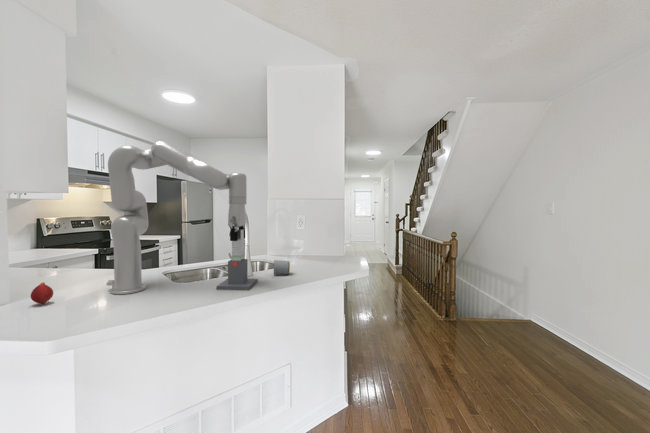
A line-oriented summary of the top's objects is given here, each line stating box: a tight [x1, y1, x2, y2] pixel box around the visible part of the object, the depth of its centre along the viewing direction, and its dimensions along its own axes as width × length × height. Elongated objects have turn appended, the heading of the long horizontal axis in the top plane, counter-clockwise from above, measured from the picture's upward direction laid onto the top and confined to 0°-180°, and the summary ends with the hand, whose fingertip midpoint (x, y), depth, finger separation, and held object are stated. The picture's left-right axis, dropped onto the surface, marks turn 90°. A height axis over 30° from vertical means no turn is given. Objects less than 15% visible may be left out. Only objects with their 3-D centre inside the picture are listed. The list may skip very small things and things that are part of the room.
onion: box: [30, 281, 54, 305], centre depth 106 cm, size 6×6×8 cm
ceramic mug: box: [273, 259, 291, 276], centre depth 156 cm, size 11×8×8 cm
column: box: [231, 228, 245, 261], centre depth 133 cm, size 4×4×18 cm
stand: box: [215, 258, 259, 291], centre depth 133 cm, size 14×14×12 cm
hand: (237, 239), depth 132 cm, fingers open, 9 cm apart
